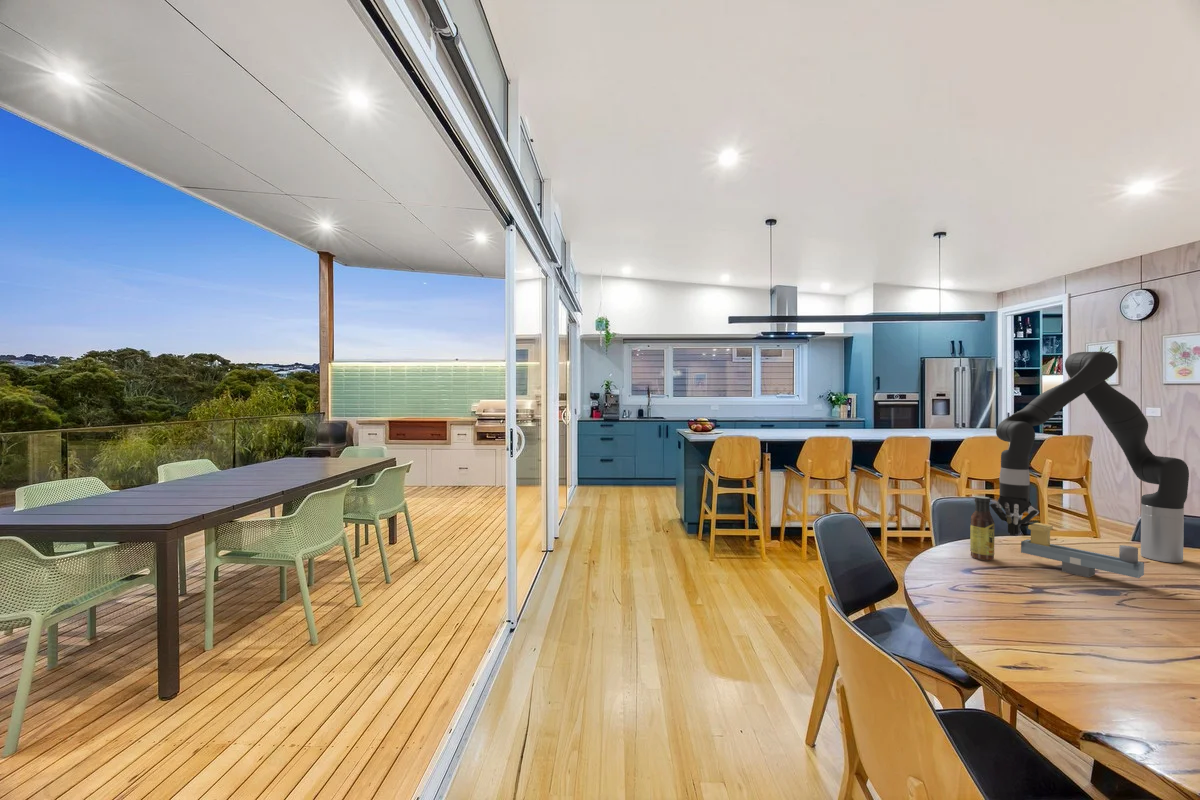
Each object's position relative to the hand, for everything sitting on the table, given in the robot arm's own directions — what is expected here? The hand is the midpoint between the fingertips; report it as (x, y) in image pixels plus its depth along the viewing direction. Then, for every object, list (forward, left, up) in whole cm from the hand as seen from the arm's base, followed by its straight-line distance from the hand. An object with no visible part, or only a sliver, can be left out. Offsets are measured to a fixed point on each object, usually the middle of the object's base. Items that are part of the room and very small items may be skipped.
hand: (1013, 535), depth 163 cm
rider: (0, +7, -2) cm, 7 cm away
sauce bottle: (+9, -5, -8) cm, 13 cm away
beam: (0, +16, -8) cm, 17 cm away
